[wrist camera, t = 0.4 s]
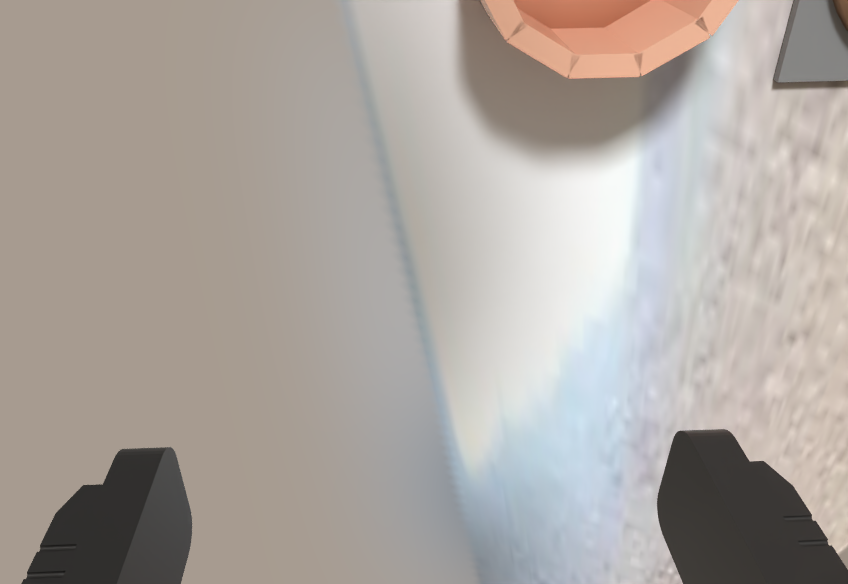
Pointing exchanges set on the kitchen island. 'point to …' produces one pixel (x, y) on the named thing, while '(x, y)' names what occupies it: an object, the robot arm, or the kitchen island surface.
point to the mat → (813, 44)
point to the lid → (842, 11)
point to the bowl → (606, 32)
